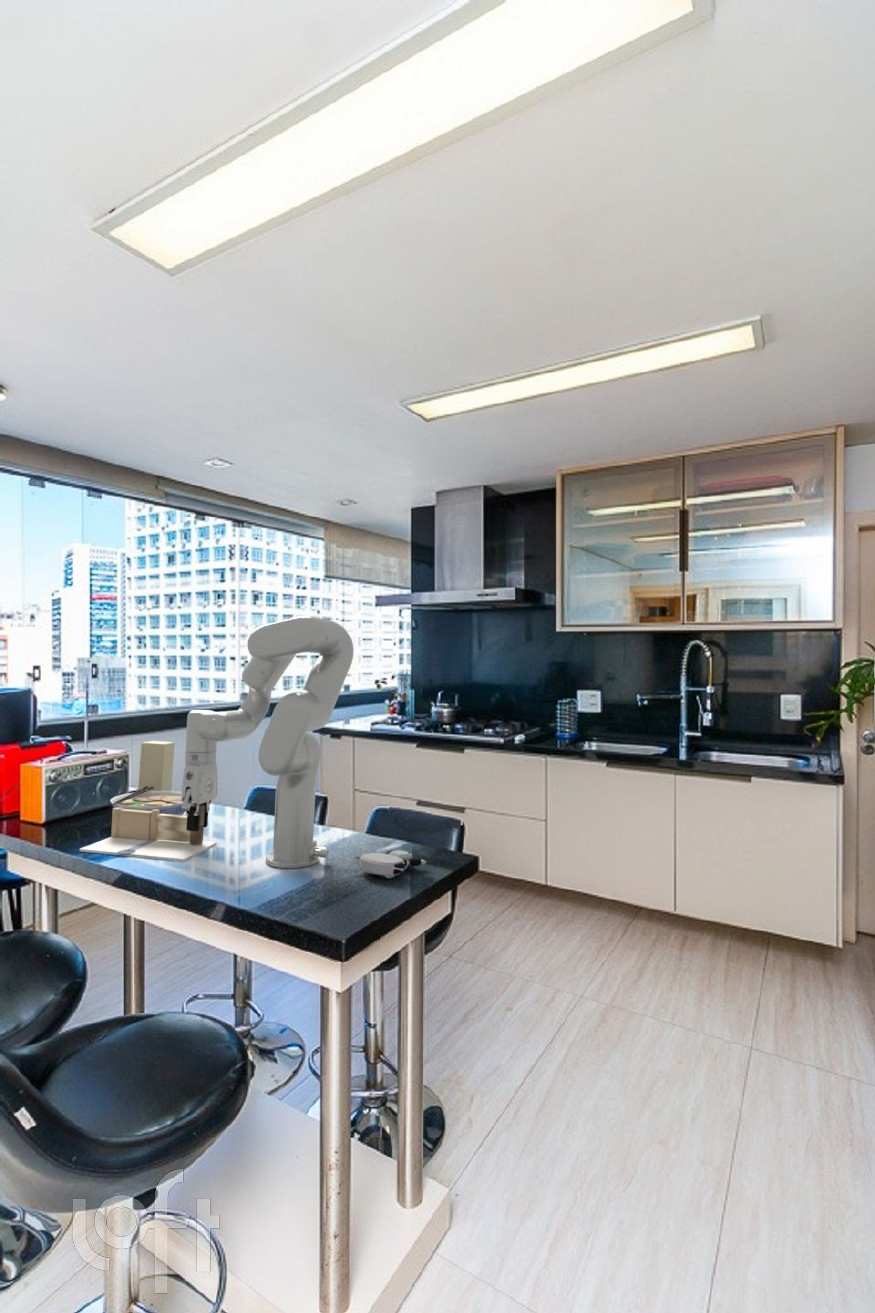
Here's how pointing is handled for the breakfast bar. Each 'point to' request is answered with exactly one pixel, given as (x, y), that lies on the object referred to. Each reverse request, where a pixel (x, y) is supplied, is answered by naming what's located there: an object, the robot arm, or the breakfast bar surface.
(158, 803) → the ramen bowl
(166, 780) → the beige tall block
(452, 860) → the breakfast bar surface
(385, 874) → the robot toy
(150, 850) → the layout board with fixed fence
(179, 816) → the hinged fence panel
